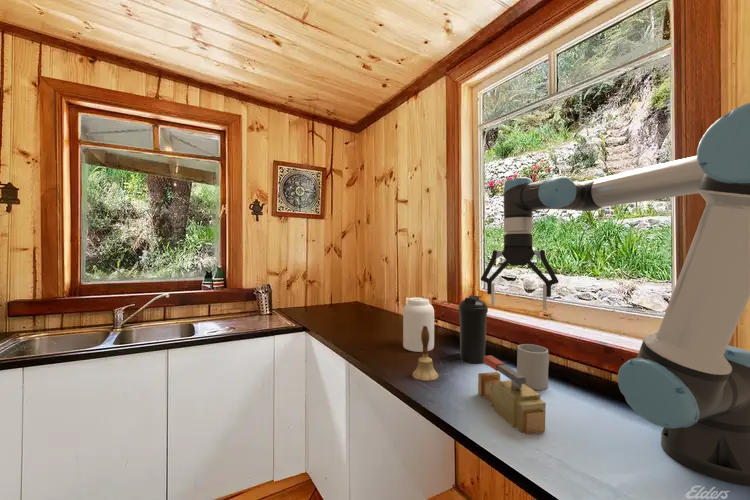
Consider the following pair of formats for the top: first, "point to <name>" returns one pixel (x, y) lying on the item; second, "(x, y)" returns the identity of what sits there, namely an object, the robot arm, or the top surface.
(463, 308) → the water bottle
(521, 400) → the valve
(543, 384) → the mug
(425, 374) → the hand bell
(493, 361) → the lever
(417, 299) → the white lidded jar
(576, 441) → the top surface
